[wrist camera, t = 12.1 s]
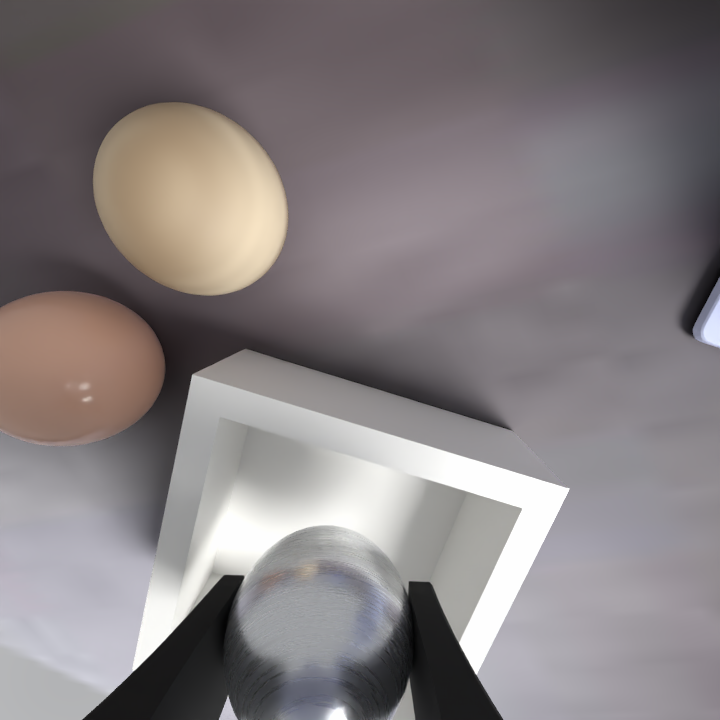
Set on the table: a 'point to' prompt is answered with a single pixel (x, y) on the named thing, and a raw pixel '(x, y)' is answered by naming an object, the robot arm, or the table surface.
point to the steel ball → (319, 631)
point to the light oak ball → (190, 198)
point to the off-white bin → (346, 493)
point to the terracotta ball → (75, 368)
